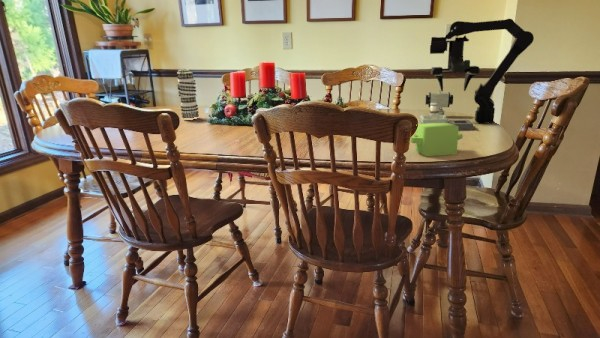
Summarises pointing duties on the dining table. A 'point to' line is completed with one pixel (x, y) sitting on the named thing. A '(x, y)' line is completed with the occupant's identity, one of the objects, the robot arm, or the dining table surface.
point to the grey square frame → (462, 124)
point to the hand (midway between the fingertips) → (453, 91)
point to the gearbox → (436, 139)
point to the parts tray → (426, 119)
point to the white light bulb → (434, 110)
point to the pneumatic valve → (439, 100)
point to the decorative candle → (187, 93)
